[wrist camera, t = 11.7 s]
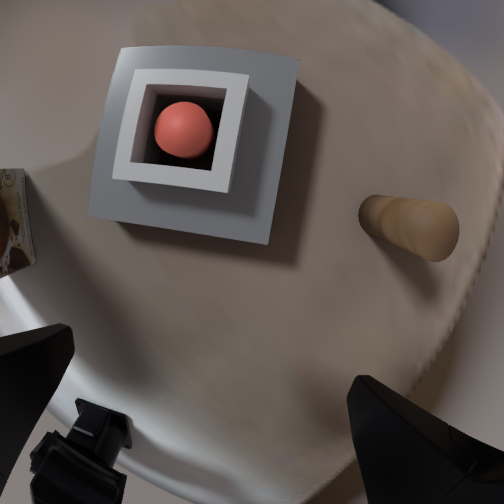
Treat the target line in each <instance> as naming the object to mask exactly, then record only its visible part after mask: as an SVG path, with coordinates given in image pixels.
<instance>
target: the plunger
mask: <svg viewBox="0 0 504 504" xmlns="http://www.w3.org/2000/svg"><path fill="white" fill-rule="evenodd" d="M154 134H155V139H156V141H157V143H158V145H159V146H160V147H161V148H162V149H163V150H164V151H166V152H167V153H170V154H172V155H175V156H177V157H179V158H182V159H186V160H194V159H198V158H200V157H202V156H204V155H205V154H207V153H208V152H209V151H210V149H211V148H212V146H213V144H214V141H215V129H214V127H213V125H212V123H211V121H210V120H209V118H208V116H207V115H206V113H205V111H204V110H203V109H202V108H201V107H200V106H198V105H196V104H194V103H191V102H178V103H175V104H172V105H170V106H168V107H167V108H166V109H164V110H163V111H162V112H161V114H160V115H159V117H158V118H157V121H156V123H155V128H154Z"/></svg>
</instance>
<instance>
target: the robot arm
mask: <svg viewBox="0 0 504 504" xmlns="http://www.w3.org/2000/svg"><path fill="white" fill-rule="evenodd" d="M74 352H75V346H74V340H73V333H72V329H71V327H70V326H67V325H64V324H61V323H59V324H55V325H50V326H46V327H42V328H38V329H34V330H29V331H25V332H21V333H16V334H12V335H8V336H3V337H0V496H1V494H2V492H3V490H4V487H5V485H6V483H7V480H8V478H9V475H10V474H11V471H12V469H13V467H14V465H15V463H16V461H17V459H18V457H19V455H20V453H21V451H22V449H23V447H24V445H25V444H26V441H27V440H28V438H29V436H30V434H31V432H32V430H33V429H34V427H35V425H36V423H37V422H38V420H39V418H40V416H41V415H42V413H43V411H44V410H45V408H46V406H47V405H48V403H49V401H50V400H51V398H52V396H53V395H54V393H55V391H56V389H57V388H58V386H59V384H60V382H61V380H62V378H63V375H64V373H65V371H66V369H67V367H68V365H69V363H70V361H71V359H72V357H73V355H74ZM75 404H76V407H77V411H78V414H79V417H78V418H77V420H76V421H75V423H74V424H73V427H72V429H71V430H70V432H69V433H68V435H67V437H66V438H65V437H63V436H62V435H60V434H59V432H58V431H56V430H55V431H54V432H53V433H51V432H47V433H46V435H45V436H44V437H43V439H42V440H41V442H40V443H39V444H38V445H37V446H36V447H35V448H34V450H33V451H32V452H31V453H30V459H31V461H32V462H31V465H32V466H31V468H30V472H32V473H33V474H35V476H34V477H33V479H32V481H31V483H30V495H31V501H32V504H121V503H122V499H123V494H124V488H125V483H126V479H127V475H125V474H123V473H120V472H118V471H116V470H114V469H113V466H114V463H115V461H116V459H117V456H118V454H119V451H120V449H121V447H124V448H127V449H131V448H132V442H131V437H130V432H129V426H128V421H127V417H126V416H125V415H124V414H121V413H118V412H115V411H112V410H109V409H106V408H103V407H100V406H97V405H95V404H92V403H89V402H87V401H84V400H82V399H79V398H77V399H76V400H75ZM347 407H348V413H349V420H350V427H351V434H352V439H353V444H354V448H355V452H356V455H357V459H358V463H359V467H360V471H361V475H362V479H363V483H364V487H365V492H366V496H367V500H368V504H504V451H501V450H499V449H497V448H494V447H492V446H490V445H488V444H485V443H483V442H481V441H479V440H477V439H475V438H473V437H470V436H468V435H466V434H465V433H463V432H461V431H459V430H458V429H456V428H454V427H452V426H451V425H448V424H447V423H446V422H444V421H442V420H440V419H439V418H437V417H435V416H434V415H432V414H430V413H429V412H427V411H425V410H424V409H422V408H421V407H419V406H417V405H416V404H414V403H412V402H411V401H409V400H408V399H406V398H404V397H403V396H401V395H400V394H398V393H396V392H395V391H393V390H392V389H390V388H388V387H387V386H385V385H384V384H382V383H381V382H379V381H378V380H376V379H374V378H373V377H371V376H370V375H358V376H356V377H355V379H354V381H353V384H352V386H351V388H350V390H349V392H348V395H347Z"/></svg>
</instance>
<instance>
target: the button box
mask: <svg viewBox="0 0 504 504" xmlns="http://www.w3.org/2000/svg"><path fill="white" fill-rule="evenodd" d="M299 60H300V59H296V58H291V57H286V56H281V55H275V54H270V53H263V52H257V51H249V50H241V49H232V48H221V47H207V46H143V47H129V48H122V49H121V52H120V55H119V57H118V60H117V64H116V67H115V70H114V73H113V77H112V80H111V83H110V87H109V91H108V94H107V98H106V102H105V107H104V111H103V115H102V119H101V124H100V129H99V134H98V139H97V144H96V150H95V156H94V163H93V170H92V177H91V186H90V195H89V206H88V217H94V218H101V219H108V220H114V221H121V222H127V223H134V224H140V225H147V226H153V227H159V228H166V229H172V230H179V231H185V232H191V233H197V234H204V235H210V236H216V237H222V238H228V239H234V240H241V241H247V242H253V243H259V244H265V245H268V241H269V235H270V230H271V224H272V219H273V213H274V208H275V202H276V197H277V191H278V185H279V180H280V174H281V168H282V163H283V157H284V151H285V145H286V139H287V133H288V127H289V121H290V115H291V109H292V103H293V97H294V91H295V85H296V79H297V72H298V66H299ZM178 102H191V103H194V104H196V105H198V106H200V107H201V108H202V109H210V110H219V111H222V116H221V121H220V126H219V131H218V136H217V142H216V147H215V153H214V158H213V164H212V170H211V171H207V170H199V169H192V168H183V167H175V166H166V165H158V163H159V157H160V152H161V147H160V146H159V145H158V143H157V141H156V139H155V134H154V128H155V123H156V121H157V118H158V117H159V115H160V114H161V112H162V111H163V110H164V109H166V108H167V107H168V106H170V105H172V104H175V103H178Z"/></svg>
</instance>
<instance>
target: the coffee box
mask: <svg viewBox="0 0 504 504" xmlns="http://www.w3.org/2000/svg"><path fill="white" fill-rule="evenodd" d="M35 262H36V260H35V255H34V250H33V245H32V239H31V233H30V227H29V220H28V212H27V203H26V191H25V175H24V169H22V168H21V169H20V168H19V169H17V168H15V169H0V278H2V277H5V276H7V275H9V274H11V273H14V272H16V271H18V270H20V269H23V268H25V267H27V266H30V265H33V264H35Z"/></svg>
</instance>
